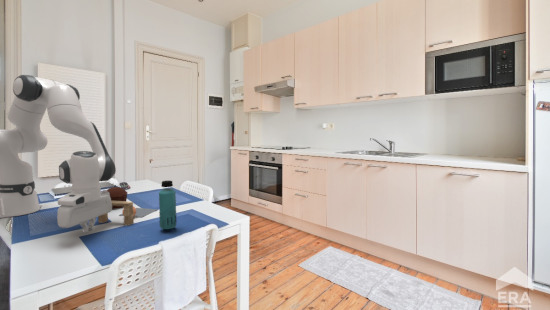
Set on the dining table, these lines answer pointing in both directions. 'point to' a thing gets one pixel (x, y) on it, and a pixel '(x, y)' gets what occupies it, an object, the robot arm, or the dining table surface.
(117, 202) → the bridge
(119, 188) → the muffin
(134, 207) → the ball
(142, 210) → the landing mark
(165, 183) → the beverage bottle
